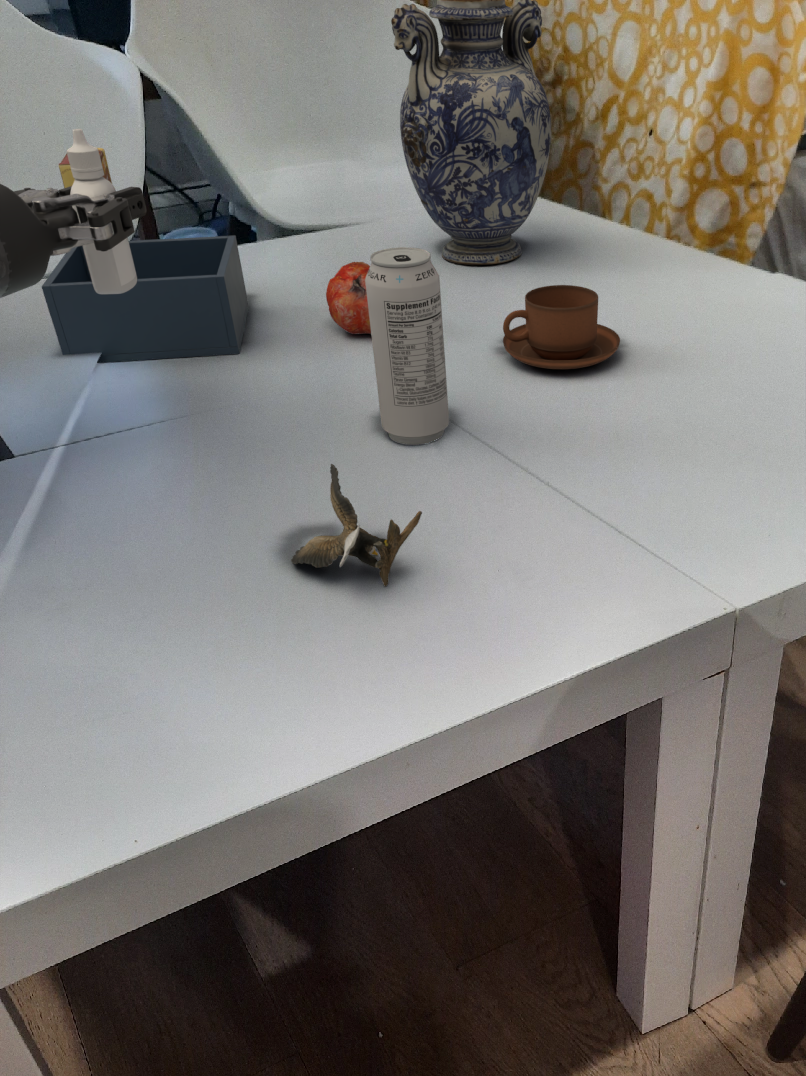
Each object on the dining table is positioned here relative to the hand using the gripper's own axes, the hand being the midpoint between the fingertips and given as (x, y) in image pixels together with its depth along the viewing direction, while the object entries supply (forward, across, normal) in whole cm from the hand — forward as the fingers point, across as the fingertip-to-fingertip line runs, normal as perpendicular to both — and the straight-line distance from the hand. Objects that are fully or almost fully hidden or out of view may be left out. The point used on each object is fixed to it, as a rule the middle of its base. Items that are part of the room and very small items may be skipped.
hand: (117, 197), depth 86 cm
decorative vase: (+54, -9, +17) cm, 58 cm away
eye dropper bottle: (-3, 0, +7) cm, 7 cm away
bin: (+15, +12, +18) cm, 26 cm away
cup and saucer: (+23, -32, +17) cm, 43 cm away
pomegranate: (+23, -9, +18) cm, 30 cm away
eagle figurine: (-21, -32, +18) cm, 43 cm away
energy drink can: (+1, -26, +18) cm, 32 cm away
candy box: (+23, +25, +18) cm, 38 cm away
